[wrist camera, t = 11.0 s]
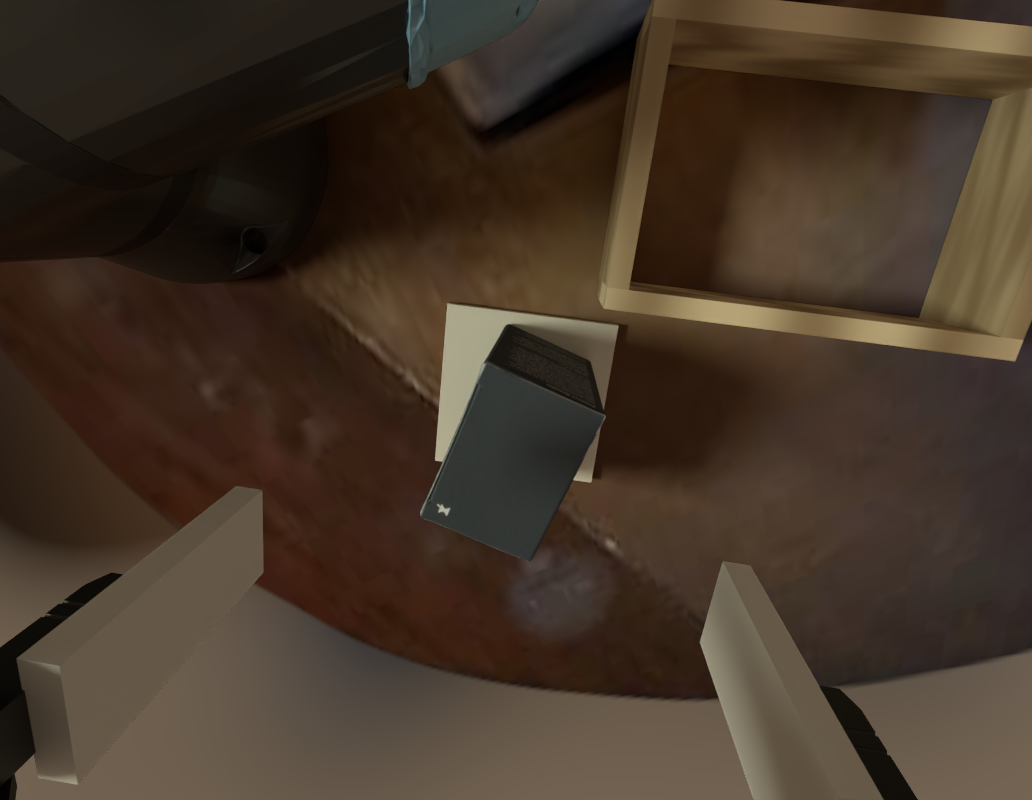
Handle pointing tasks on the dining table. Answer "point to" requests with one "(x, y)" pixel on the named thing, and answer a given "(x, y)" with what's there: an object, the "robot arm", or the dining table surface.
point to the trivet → (475, 338)
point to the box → (517, 444)
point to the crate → (867, 62)
